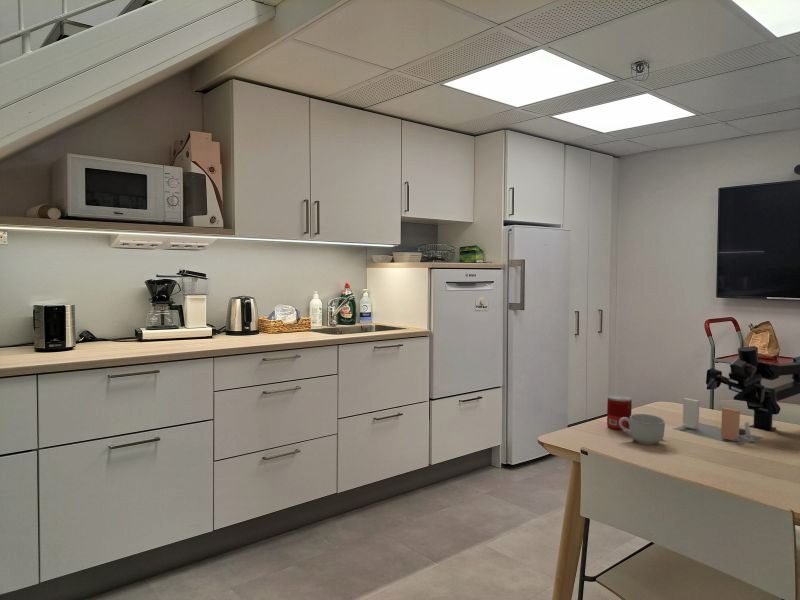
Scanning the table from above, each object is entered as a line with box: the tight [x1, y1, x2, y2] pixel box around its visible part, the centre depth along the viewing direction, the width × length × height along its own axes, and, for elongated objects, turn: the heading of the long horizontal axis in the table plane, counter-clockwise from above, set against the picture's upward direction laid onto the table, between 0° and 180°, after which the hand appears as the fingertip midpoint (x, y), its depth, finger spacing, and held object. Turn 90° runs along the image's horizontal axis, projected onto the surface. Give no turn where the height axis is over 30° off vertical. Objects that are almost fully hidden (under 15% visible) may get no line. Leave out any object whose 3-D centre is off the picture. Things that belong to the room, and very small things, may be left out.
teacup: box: [619, 413, 666, 446], centre depth 185 cm, size 14×11×8 cm
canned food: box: [606, 394, 633, 431], centre depth 201 cm, size 8×8×11 cm
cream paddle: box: [682, 397, 700, 429], centre depth 198 cm, size 3×5×10 cm, turn 34°
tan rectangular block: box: [720, 407, 741, 441], centre depth 185 cm, size 3×5×10 cm, turn 34°
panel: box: [672, 421, 764, 446], centre depth 192 cm, size 16×22×7 cm
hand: (720, 393), depth 191 cm, fingers open, 9 cm apart
